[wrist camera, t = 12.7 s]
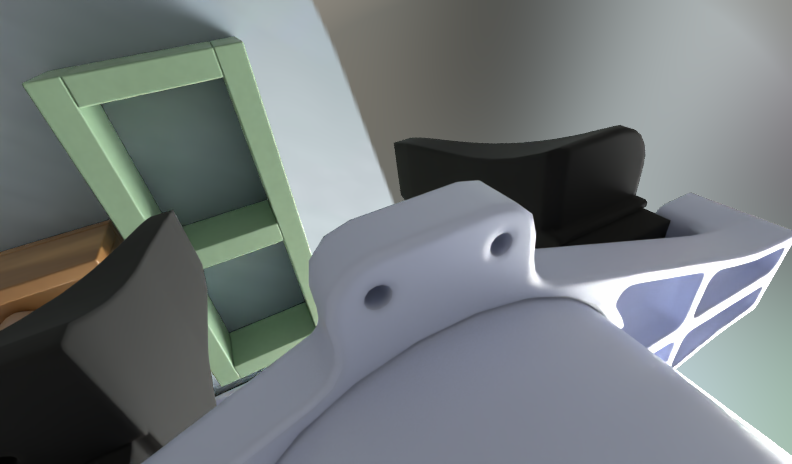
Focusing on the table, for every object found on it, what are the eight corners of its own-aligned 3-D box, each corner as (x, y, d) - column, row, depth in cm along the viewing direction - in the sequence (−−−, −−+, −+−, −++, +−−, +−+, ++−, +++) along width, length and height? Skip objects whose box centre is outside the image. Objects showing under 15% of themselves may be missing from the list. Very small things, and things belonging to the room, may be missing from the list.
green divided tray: (324, 306, 28) (338, 335, 26) (218, 351, 26) (221, 387, 24) (235, 36, 18) (242, 41, 16) (46, 71, 16) (20, 83, 13)
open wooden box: (202, 358, 26) (204, 405, 23) (32, 429, 23) (8, 495, 20) (110, 218, 20) (95, 259, 16) (-141, 293, 17) (-216, 359, 14)
